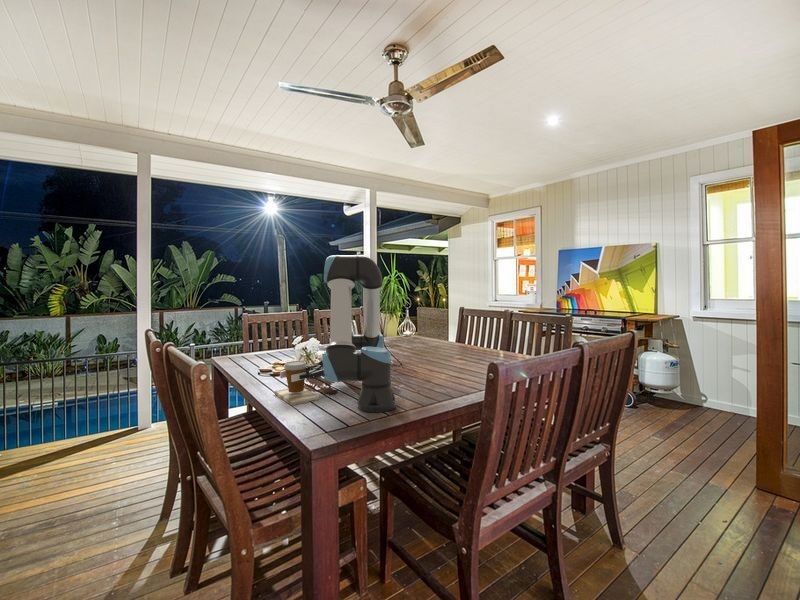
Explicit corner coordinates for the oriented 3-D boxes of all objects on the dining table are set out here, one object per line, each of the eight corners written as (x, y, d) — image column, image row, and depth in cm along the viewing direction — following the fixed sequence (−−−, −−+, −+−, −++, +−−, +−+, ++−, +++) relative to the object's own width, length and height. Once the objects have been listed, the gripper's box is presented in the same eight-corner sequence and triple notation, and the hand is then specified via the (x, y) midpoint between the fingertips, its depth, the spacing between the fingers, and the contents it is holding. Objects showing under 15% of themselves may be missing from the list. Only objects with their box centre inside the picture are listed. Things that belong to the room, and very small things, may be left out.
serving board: (319, 399, 160) (318, 395, 160) (291, 405, 153) (291, 401, 153) (300, 389, 175) (300, 386, 175) (274, 394, 168) (274, 391, 168)
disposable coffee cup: (299, 394, 158) (298, 366, 157) (280, 392, 161) (279, 364, 160) (311, 388, 167) (311, 361, 166) (293, 386, 170) (292, 360, 169)
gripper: (344, 378, 170) (300, 390, 153) (316, 371, 184) (273, 381, 167) (343, 362, 170) (299, 371, 153) (315, 355, 184) (272, 364, 167)
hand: (286, 376), depth 160 cm, fingers closed on disposable coffee cup, 8 cm apart
